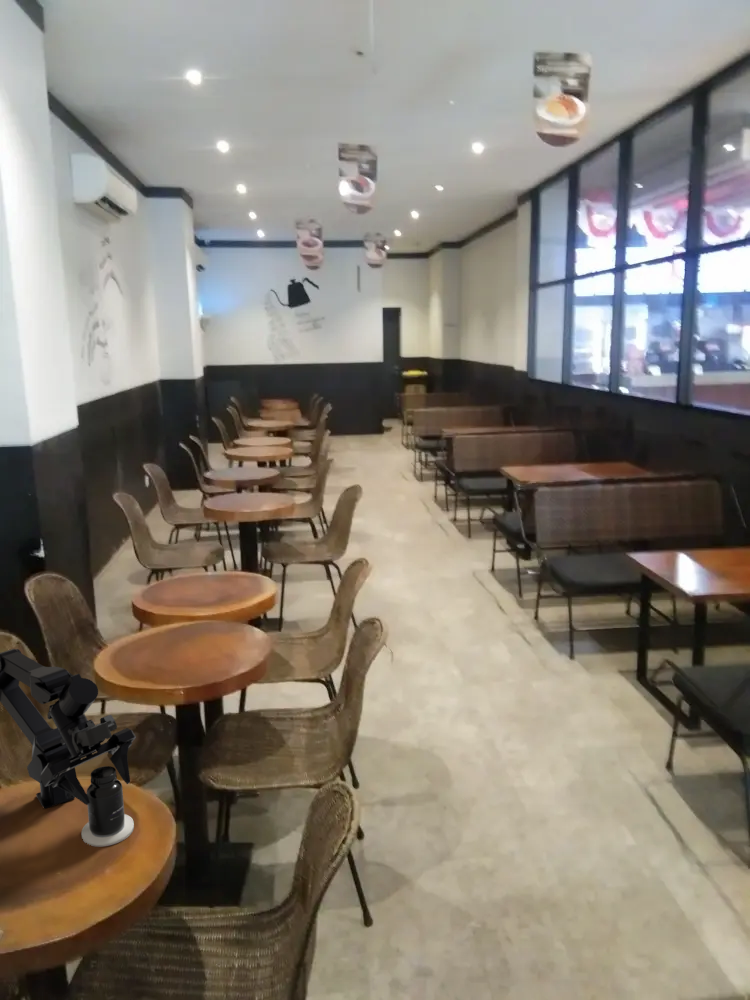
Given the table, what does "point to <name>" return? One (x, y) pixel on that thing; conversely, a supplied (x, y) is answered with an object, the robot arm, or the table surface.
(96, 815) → the supplement bottle
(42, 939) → the table surface
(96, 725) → the robot arm
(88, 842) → the coaster
